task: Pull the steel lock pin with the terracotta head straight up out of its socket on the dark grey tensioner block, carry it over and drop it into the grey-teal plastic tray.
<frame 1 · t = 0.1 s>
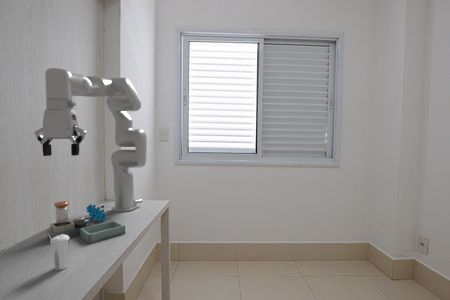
hand: (61, 155, 85), 31 cm above the table, tool pointing down, fingers open, 9 cm apart
gear: (97, 221, 112), on the table
milkshake: (59, 268, 70), on the table
tray: (102, 234, 94), on the table
lock pin: (62, 228, 93), point 3 cm above the table, touching tensioner
tensioner: (71, 234, 95), on the table
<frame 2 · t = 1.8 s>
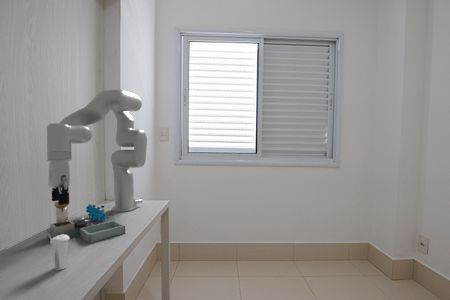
hand: (60, 202, 92), 13 cm above the table, tool pointing down, fingers open, 9 cm apart
nothing on the table moved.
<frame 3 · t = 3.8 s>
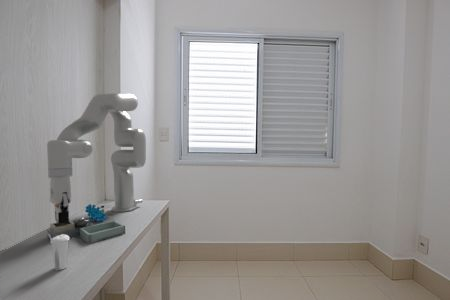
hand: (62, 220, 93), 6 cm above the table, tool pointing down, fingers closed on lock pin, 3 cm apart
lock pin: (62, 228, 93), point 3 cm above the table, touching gripper, tensioner
everything else where it was.
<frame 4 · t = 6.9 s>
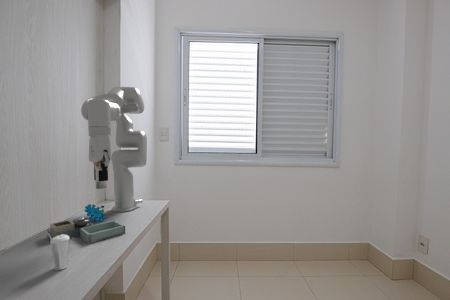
hand: (101, 179, 94), 21 cm above the table, tool pointing down, fingers closed on lock pin, 3 cm apart
lock pin: (101, 187, 94), point 18 cm above the table, touching gripper
everything else where it was.
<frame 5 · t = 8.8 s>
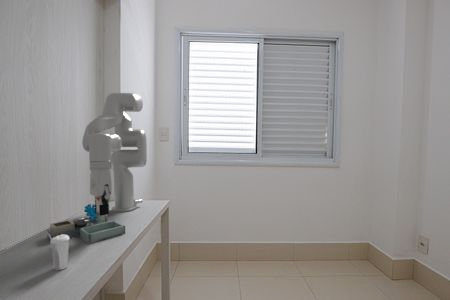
hand: (102, 213, 94), 8 cm above the table, tool pointing down, fingers closed on lock pin, 3 cm apart
lock pin: (102, 221, 94), point 5 cm above the table, touching gripper
everything else where it was.
when the fingers open (5 cm above the table, at t = 10.4 s): lock pin drops 1 cm, resting on tray.
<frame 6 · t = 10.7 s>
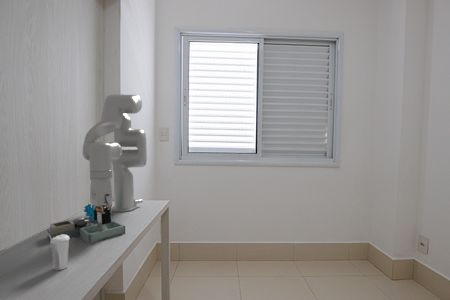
hand: (102, 221, 94), 5 cm above the table, tool pointing down, fingers open, 7 cm apart
lock pin: (102, 233, 94), point 1 cm above the table, touching tray
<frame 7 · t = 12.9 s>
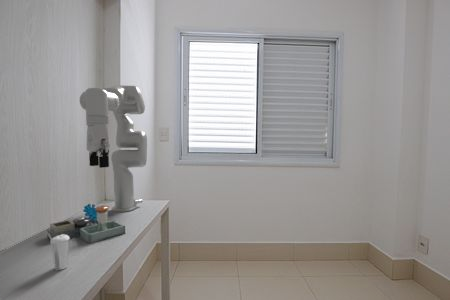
hand: (99, 166, 94), 26 cm above the table, tool pointing down, fingers open, 9 cm apart
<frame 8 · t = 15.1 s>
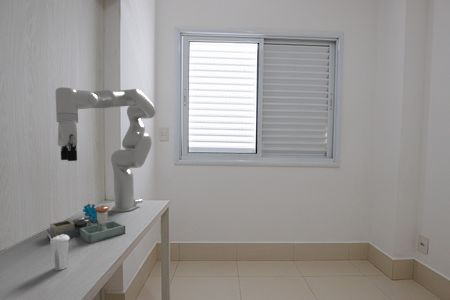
hand: (68, 160, 102), 28 cm above the table, tool pointing down, fingers open, 9 cm apart
at the end: lock pin inside the target area on the tray (0.1 cm from its centre), point 0.6 cm above the tray's base; the gripper is holding nothing; lock pin moved 14.7 cm from its start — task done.
